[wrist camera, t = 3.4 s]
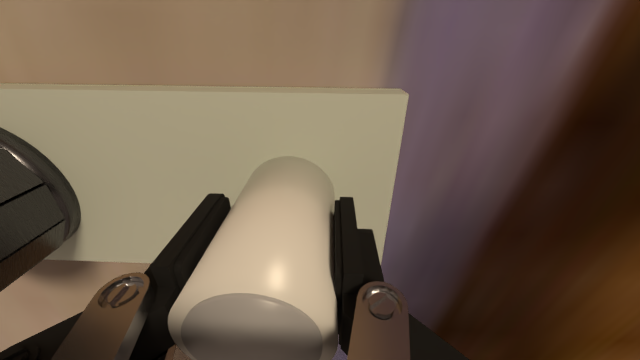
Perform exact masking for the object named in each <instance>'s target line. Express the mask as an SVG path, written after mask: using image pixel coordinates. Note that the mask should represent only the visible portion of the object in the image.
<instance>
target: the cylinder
mask: <svg viewBox="0 0 640 360" xmlns="http://www.w3.org/2000/svg"><path fill="white" fill-rule="evenodd" d="M334 204H335V192H334V187H333V184H332V182H331V180H330V178H329V177H328V175H327V174H326V173H325V172H324V171H323V170H322V169H321V168H320V167H319V166H317V165H316V164H314V163H312V162H310V161H308V160H306V159H303V158H299V157H292V156H282V157H276V158H273V159H270V160H268V161H266V162H264V163H263V164H261V165H260V166H259V167H257V168H256V170H255V171H254V172H253V173H252V175H251V177H250V178H249V180H248V182H247V183H246V185H245V187H244V188H243V190H242V192H241V193H240V195H239V197H238V198H237V200H236V202H235V203H234V205H233V206H232V208H231V210H230V211H229V213H228V215H227V216H226V218H225V220H224V221H223V223H222V225H221V226H220V228H219V230H218V231H217V233H216V235H215V236H214V238H213V240H212V241H211V243H210V245H209V246H208V248H207V250H206V251H205V253H204V255H203V256H202V258H201V260H200V261H199V263H198V265H197V266H196V268H195V270H194V271H193V273H192V275H191V276H190V278H189V280H188V281H187V283H186V285H185V286H184V288H183V290H182V291H181V293H180V294H179V296H178V298H177V299H176V301H175V303H174V304H173V306H172V308H171V309H170V312H169V315H168V329H169V332H170V335H171V337H172V339H173V340H174V342H175V343H176V345H177V346H178V347H179V349H180V350H181V351H182V352H183V353H184V354H186V355H187V356H188V357H189V358H191V359H192V360H332V358H333V357H334V355H335V353H336V351H337V346H338V316H337V300H336V295H335V248H334Z"/></svg>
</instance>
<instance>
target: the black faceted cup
mask: <svg viewBox="0 0 640 360" xmlns="http://www.w3.org/2000/svg"><path fill="white" fill-rule="evenodd" d="M80 221H81V209H80V205H79V201H78V198H77V196H76V194H75V192H74V190H73V188H72V186H71V185H70V183H69V182H68V180H67V179H66V177H65V176H64V175H63V173H62V172H61V171H60V170H59V169H58V168H57V167H56V166H55V165H54V164H53V163H52V162H51V161H50V160H49V159H48V158H47V157H46V156H45V155H44V154H42V153H41V152H40V151H39V150H38V149H36V148H35V147H33V146H32V145H31V144H29V143H28V142H26V141H25V140H23V139H21V138H20V137H18V136H16V135H15V134H13V133H11V132H9V131H7V130H5V129H3V128H1V127H0V292H1V291H2V290H3V289H5V288H6V287H7V286H9V285H10V284H11V283H13V282H14V281H15V280H17V279H18V278H19V277H21V276H22V275H23V274H25V273H26V272H27V271H29V270H30V269H31V268H33V267H34V266H35V265H37V264H38V263H39V262H40V261H42V260H43V259H44V258H46V257H47V256H48V255H50V254H51V253H52V252H54V251H55V250H56V249H58V248H59V247H60V246H62V244H63V243H64V242H65V241H66V240H68V239H69V238H70V237H72V236H73V235H74V234H75V232H76V231H77V229H78V228H79V225H80Z"/></svg>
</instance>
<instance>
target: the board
mask: <svg viewBox="0 0 640 360" xmlns="http://www.w3.org/2000/svg"><path fill="white" fill-rule="evenodd" d="M408 97H409V94H407V93H406V92H404V91H403V90H401V89H390V88H315V87H240V86H165V85H90V84H15V83H0V127H1V128H3V129H5V130H7V131H9V132H11V133H13V134H15V135H16V136H18V137H20V138H21V139H23V140H25V141H26V142H28V143H29V144H31V145H32V146H33V147H35V148H36V149H38V150H39V151H40V152H41V153H42V154H44V155H45V156H46V157H47V158H48V159H49V160H50V161H51V162H52V163H53V164H54V165H55V166H56V167H57V168H58V169H59V170H60V171H61V172H62V173H63V175H64V176H65V177H66V179H67V180H68V182H69V183H70V185H71V186H72V188H73V190H74V192H75V194H76V196H77V198H78V201H79V205H80V209H81V221H80V225H79V228H78V229H77V231H76V232H75V234H74V235H73V236H72V237H70V238H69V239H68V240H66V241H65V242H64V243H63V244H62V246H60V247H59V248H58V249H56V250H55V251H54V252H52V253H51V254H50V255H48V256H47V257H46V258H44V260H72V261H100V262H129V263H152V262H153V261H154V260H155V259H156V257H157V256H158V255H159V254H160V253H161V251H162V250H163V249H164V248H165V246H166V245H167V244H168V243H169V241H170V240H171V239H172V238H173V237H174V235H175V234H176V233H177V232H178V230H179V229H180V228H181V227H182V225H183V224H184V223H185V222H186V221H187V219H188V218H189V217H190V216H191V214H192V213H193V212H194V211H195V209H196V208H197V207H198V206H199V205H200V203H201V202H202V201H203V200H204V198H205V197H206V196H207V195H208V194H209V193H218V194H224V195H225V197H228V198H229V201H230V206H231V208H232V206H233V205H234V203H235V202H236V200H237V198H238V197H239V195H240V193H241V192H242V190H243V188H244V187H245V185H246V183H247V182H248V180H249V178H250V177H251V175H252V173H253V172H254V171H255V170H256V168H257V167H259V166H260V165H261V164H263V163H264V162H266V161H268V160H270V159H273V158H276V157H282V156H292V157H299V158H303V159H306V160H308V161H310V162H312V163H314V164H316V165H317V166H319V167H320V168H321V169H322V170H323V171H324V172H325V173H326V174H327V175H328V177H329V178H330V180H331V182H332V184H333V187H334V192H335V200H340V197H353V200H354V207H355V214H356V221H357V228H358V229H372V230H373V233H374V238H375V242H376V247H377V252H378V256H379V261H380V265H381V261H382V255H383V248H384V242H385V236H386V230H387V224H388V218H389V212H390V206H391V200H392V194H393V188H394V182H395V176H396V170H397V164H398V157H399V151H400V145H401V139H402V133H403V127H404V121H405V115H406V109H407V103H408Z"/></svg>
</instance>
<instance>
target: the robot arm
mask: <svg viewBox="0 0 640 360" xmlns="http://www.w3.org/2000/svg"><path fill="white" fill-rule="evenodd" d="M230 210H231V206H230V201H229V198H228V197H225V195H224V194H218V193H209V194H208V195H207V196H206V197H205V198H204V200H203V201H202V202H201V203H200V205H199V206H198V207H197V208H196V209H195V211H194V212H193V213H192V214H191V216H190V217H189V218H188V219H187V221H186V222H185V223H184V224H183V225H182V227H181V228H180V229H179V230H178V232H177V233H176V234H175V235H174V237H173V238H172V239H171V240H170V241H169V243H168V244H167V245H166V246H165V248H164V249H163V250H162V251H161V253H160V254H159V255H158V256H157V257H156V259H155V260H154V261H153V262H152V264H151V265H150V267H149V268H148V269H147V270H146V271H145V273H144V274H143V273H129V274H124V275H122V276H119V277H117V278H115V279H113V280H111V281H110V282H108V283H106V284H105V285H104V286H103V287H102V288H100V289H99V290H98V292H97V293H96V294H95V295H94V297H93V298H92V300H91V301H90V303H89V304H88V305H87V307H86V308H85V310H84V311H83V312H81V313H79V314H77V315H75V316H73V317H71V318H69V319H67V320H64V321H62V322H60V323H58V324H56V325H54V326H52V327H50V328H48V329H46V330H44V331H42V332H40V333H38V334H36V335H34V336H31V337H29V338H27V339H25V340H23V341H21V342H19V343H17V344H15V345H13V346H11V347H9V348H7V349H6V350H4V351H2V352H0V360H173V357H174V353H175V350H176V343H175V342H174V340H173V339H172V337H171V335H170V332H169V329H168V315H169V312H170V309H171V308H172V306H173V304H174V303H175V301H176V299H177V298H178V296H179V294H180V293H181V291H182V290H183V288H184V286H185V285H186V283H187V281H188V280H189V278H190V276H191V275H192V273H193V271H194V270H195V268H196V266H197V265H198V263H199V261H200V260H201V258H202V256H203V255H204V253H205V251H206V250H207V248H208V246H209V245H210V243H211V241H212V240H213V238H214V236H215V235H216V233H217V231H218V230H219V228H220V226H221V225H222V223H223V221H224V220H225V218H226V216H227V215H228V213H229V211H230ZM334 248H335V295H336V300H337V316H338V334H339V345H341V349H342V350H343V351H344V352H345V353H346V355H347V356H348V357H347V360H469V359H468V358H466V357H465V356H464V355H463V354H461V353H460V352H459V351H457V350H456V349H455V348H453V347H452V346H451V345H449V344H448V343H447V342H445V341H444V340H443V339H442V338H440V337H439V336H438V335H436V334H435V333H434V332H432V331H431V330H430V329H428V328H427V327H426V326H425V325H423V324H422V323H421V322H419V321H418V320H417V319H415V318H414V317H413V316H411V315H410V314H409V313H408V304H407V300H406V298H405V297H404V295H403V294H402V293H401V292H400V291H399V290H398V289H397V288H396V287H394V286H393V285H391V284H388V283H385V282H384V279H383V274H382V270H381V265H380V261H379V256H378V252H377V247H376V242H375V238H374V233H373V230H372V229H358V228H357V221H356V214H355V207H354V200H353V197H340V200H335V204H334Z"/></svg>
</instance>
